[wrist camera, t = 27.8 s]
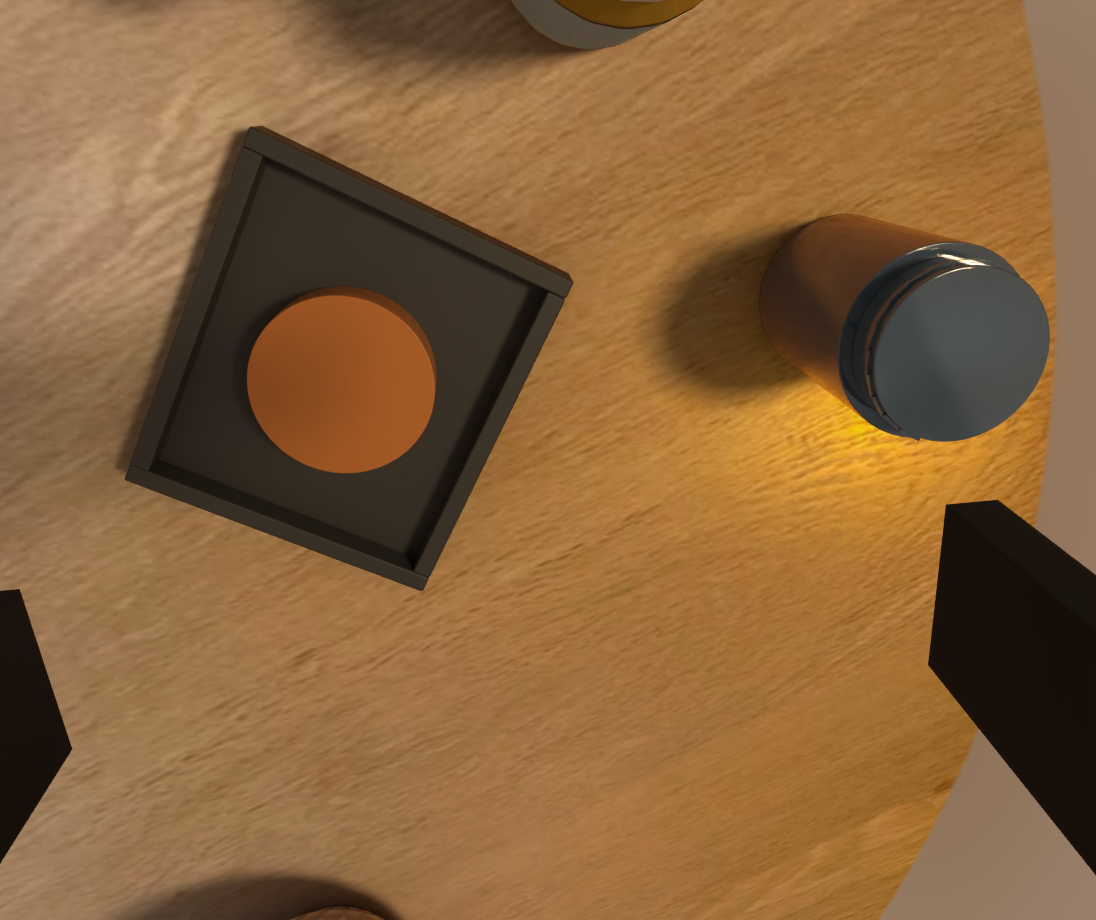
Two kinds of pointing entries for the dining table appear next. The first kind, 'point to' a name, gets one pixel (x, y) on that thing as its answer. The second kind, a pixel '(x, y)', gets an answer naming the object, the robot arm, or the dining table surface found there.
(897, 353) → the jar
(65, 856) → the dining table surface
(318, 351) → the lid
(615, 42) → the bottle
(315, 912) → the vase
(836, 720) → the dining table surface
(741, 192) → the dining table surface
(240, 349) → the tray
